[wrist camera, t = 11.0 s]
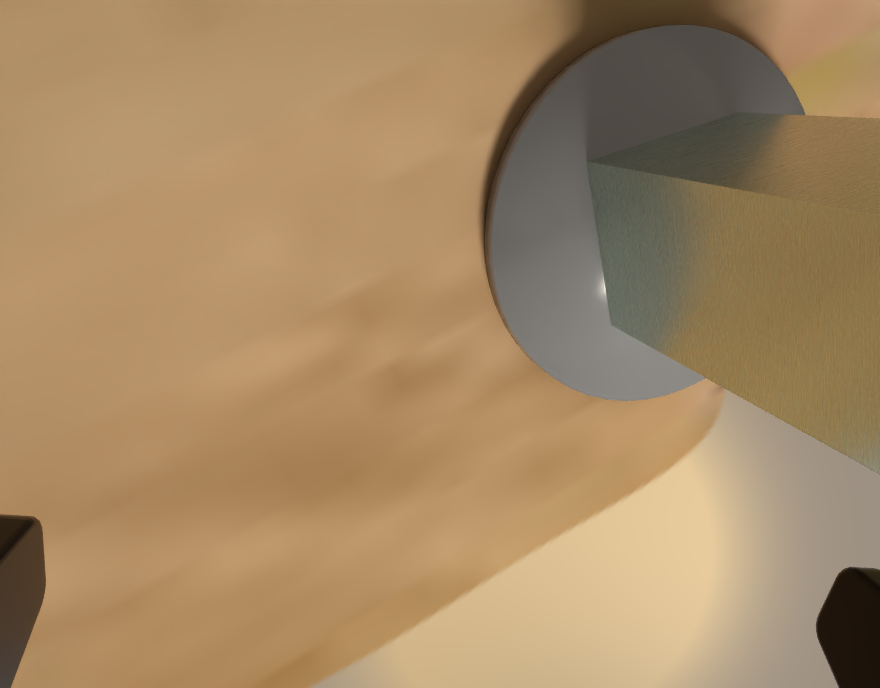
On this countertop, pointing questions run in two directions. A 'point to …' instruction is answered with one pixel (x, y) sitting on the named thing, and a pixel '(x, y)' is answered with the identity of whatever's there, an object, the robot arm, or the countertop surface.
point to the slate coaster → (570, 202)
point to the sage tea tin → (755, 263)
